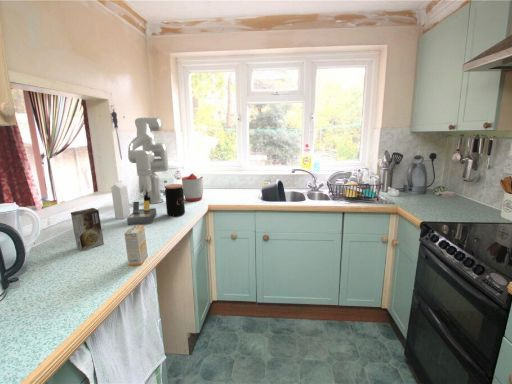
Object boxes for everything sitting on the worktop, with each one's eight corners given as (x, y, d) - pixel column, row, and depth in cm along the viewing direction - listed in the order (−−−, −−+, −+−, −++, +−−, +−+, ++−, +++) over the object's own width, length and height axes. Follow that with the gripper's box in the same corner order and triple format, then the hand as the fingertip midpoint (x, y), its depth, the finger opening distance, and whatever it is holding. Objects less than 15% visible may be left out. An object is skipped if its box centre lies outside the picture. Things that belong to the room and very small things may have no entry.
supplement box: (135, 256, 106) (131, 225, 104) (148, 256, 107) (144, 224, 104) (127, 266, 98) (123, 233, 95) (141, 265, 99) (137, 232, 96)
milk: (115, 218, 158) (109, 182, 153) (122, 215, 163) (117, 180, 159) (124, 219, 156) (118, 182, 152) (131, 216, 162) (126, 180, 157)
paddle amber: (144, 212, 155) (144, 201, 155) (150, 212, 155) (149, 200, 156) (143, 212, 153) (143, 201, 154) (149, 212, 154) (148, 200, 154)
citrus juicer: (210, 198, 205) (208, 172, 201) (193, 203, 191) (191, 175, 186) (195, 196, 213) (193, 171, 209) (178, 200, 199) (176, 174, 195)
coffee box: (98, 241, 124) (93, 207, 120) (104, 244, 119) (99, 209, 116) (76, 247, 117) (70, 212, 113) (81, 251, 113) (75, 214, 109)
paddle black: (133, 213, 154) (133, 202, 156) (139, 213, 154) (139, 202, 156) (132, 212, 152) (133, 201, 154) (138, 212, 153) (138, 201, 155)
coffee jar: (180, 217, 157) (177, 187, 154) (163, 216, 159) (160, 187, 156) (188, 212, 168) (186, 184, 164) (172, 211, 170) (170, 183, 166)
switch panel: (135, 215, 162) (135, 209, 161) (156, 214, 164) (155, 207, 163) (127, 225, 145) (126, 217, 144) (151, 223, 147) (150, 216, 146)
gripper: (140, 171, 160) (143, 201, 164) (134, 174, 145) (137, 207, 149) (153, 170, 161) (156, 200, 165) (148, 174, 147) (152, 206, 151)
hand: (147, 203), depth 157 cm, fingers closed
